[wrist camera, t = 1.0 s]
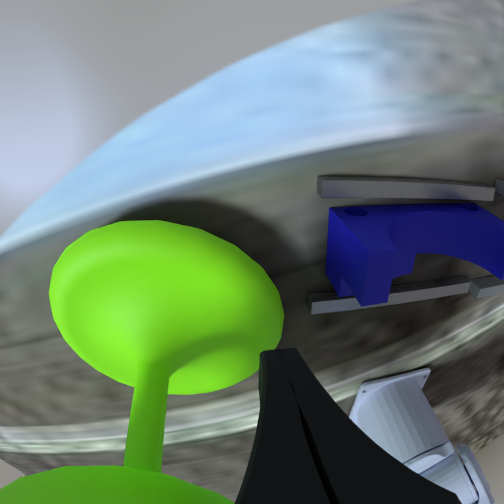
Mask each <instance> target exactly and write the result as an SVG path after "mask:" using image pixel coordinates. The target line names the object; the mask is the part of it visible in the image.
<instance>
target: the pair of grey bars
mask: <svg viewBox="0 0 504 504" xmlns="http://www.w3.org/2000/svg"><path fill="white" fill-rule="evenodd" d="M317 193H318V194H319V195H320V196H321V198H431V199H461V200H483V201H493V198H494V193H495V188H494V187H492V186H490V185H488V184H481V183H471V182H459V181H446V180H431V179H414V178H392V177H360V176H318V181H317ZM470 283H471V282H470V281H469V280H468V279H467V278H466V277H465V276H461V277H454V278H446V279H439V280H431V281H424V282H416V283H408V284H399V285H391V288H390V293H389V297H388V302H387V303H381V304H375V305H368V306H362V307H361V306H360V304H359V302H358V301H357V299H356V298H355V296H354V295H351V296H343V297H339V296H338V294H337V293H336V291H333V292H323V293H312V294H309V297H308V308H309V310H310V313H311V314H321V313H330V312H339V311H347V310H356V309H364V308H371V307H379V306H386V305H393V304H400V303H407V302H413V301H420V300H426V299H432V298H438V297H444V296H450V295H456V294H461V293H467V292H468V289H469V286H470Z"/></svg>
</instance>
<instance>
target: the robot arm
mask: <svg viewBox="0 0 504 504" xmlns="http://www.w3.org/2000/svg"><path fill="white" fill-rule="evenodd" d="M430 372H431V370H430V368H424V369H420V370H416V371H413V372H409V373H405V374H400V375H396V376H392V377H388V378H383V379H379V380H374V381H369V382H365V383H363V384H361V386H360V388H359V391H358V394H357V396H356V399H355V402H354V405H353V407H352V410H351V413H350V415H349V417H348V416H347V415H346V414H345V413H344V411H343V410H342V409H341V408H340V407H339V406H338V405H337V404H336V402H335V401H334V400H333V399H332V397H331V396H330V395H329V394H328V393H327V391H326V390H325V389H324V388H323V386H322V385H321V384H320V382H319V381H318V380H317V378H316V377H315V376H314V374H313V373H312V372H311V370H310V369H309V367H308V366H307V364H306V363H305V361H304V360H303V358H302V357H301V355H300V353H299V352H298V350H297V349H296V348H294V347H293V348H284V349H275V350H265V351H262V352H261V353H260V360H259V396H260V413H259V419H258V424H257V430H256V435H255V439H254V444H253V448H252V452H251V456H250V459H249V463H248V466H247V470H246V473H245V476H244V479H243V482H242V485H241V488H240V491H239V494H238V497H237V499H236V502H235V504H494V499H493V497H492V495H491V492H490V490H489V489H490V487H489V484H488V482H487V480H486V478H485V475H484V473H483V471H482V469H481V467H480V465H479V464H478V461H477V460H476V458H475V456H474V454H473V452H472V451H471V449H470V447H469V446H468V445H462V444H459V445H458V446H457V447H456V448H457V450H458V452H459V454H460V455H459V456H460V458H461V460H462V462H463V464H464V465H463V464H462V462H461V460H460V458H459V456H458V454H457V452H456V450H455V448H454V446H453V445H452V443H451V441H449V439H448V437H447V435H446V433H445V431H444V429H443V428H442V426H441V424H440V422H439V420H438V418H437V417H436V415H435V413H434V411H433V409H432V407H431V406H430V404H429V402H428V400H427V399H426V397H425V395H424V393H423V392H422V388H423V386H424V384H425V382H426V380H427V378H428V376H429V374H430ZM473 484H474V486H475V488H476V490H477V493H476V490H475V489H474V486H473Z"/></svg>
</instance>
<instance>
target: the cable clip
mask: <svg viewBox="0 0 504 504" xmlns="http://www.w3.org/2000/svg"><path fill="white" fill-rule="evenodd" d="M418 253H434V254H443V255H449V256H453V257H457V258H461V259H464V260H467V261H469V262H472V263H474V264H476V265H479V266H481V267H482V268H484V269H486V270H488V271H489V272H491V273H492V274H494V275H495V276H496V277H498V278H499V279H500V280H503V279H504V221H503V220H501V219H500V218H498V217H496V216H495V215H493V214H492V213H490V212H488V211H487V210H485V209H483V208H482V207H480V206H478V205H476V204H475V203H433V204H398V205H372V206H351V207H331V208H329V224H328V241H327V256H326V269H325V273H326V275H327V277H328V278H329V280H330V282H331V284H332V285H333V287H334V289H335V291H336V293H337V294H338V296H339V297H343V296H351V295H354V296H355V298H356V299H357V301H358V302H359V304H360V306H361V307H362V306H368V305H375V304H381V303H387V302H388V297H389V293H390V288H391V283H392V279H394V278H396V277H398V276H401V275H405V274H410V273H412V270H413V265H414V260H415V255H416V254H418Z"/></svg>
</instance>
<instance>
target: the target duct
mask: <svg viewBox="0 0 504 504" xmlns="http://www.w3.org/2000/svg"><path fill="white" fill-rule="evenodd" d="M494 188H495V192H497V193H498V194H500V195H502V196H504V180H502V179H496V180H495V186H494ZM470 282H471V283H470V286H469V289H468V291H469V292H470V293H471V294H472V295H473V296H474V297H475V298H476V299H479V298H484V297H488V296H493V295H497V294H501V293H504V279H503V280H500V279H499V278H498V277H496V276H491V277H485V278H479V279H473V280H470Z"/></svg>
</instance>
